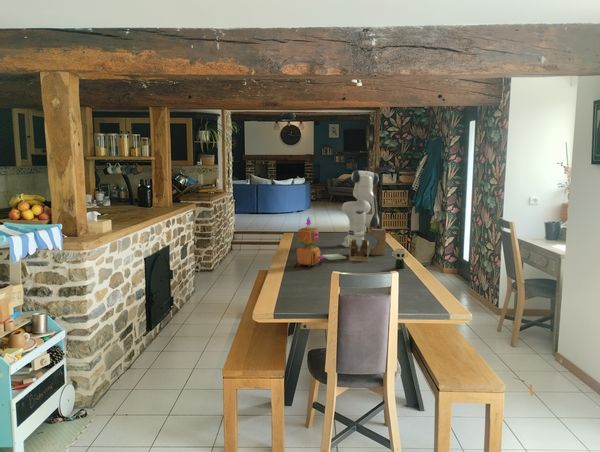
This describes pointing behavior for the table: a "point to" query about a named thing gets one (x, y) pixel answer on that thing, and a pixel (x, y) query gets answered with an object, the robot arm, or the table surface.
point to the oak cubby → (353, 250)
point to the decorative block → (379, 242)
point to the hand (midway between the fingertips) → (359, 250)
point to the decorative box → (308, 246)
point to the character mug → (400, 257)
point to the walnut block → (358, 253)
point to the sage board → (334, 256)
